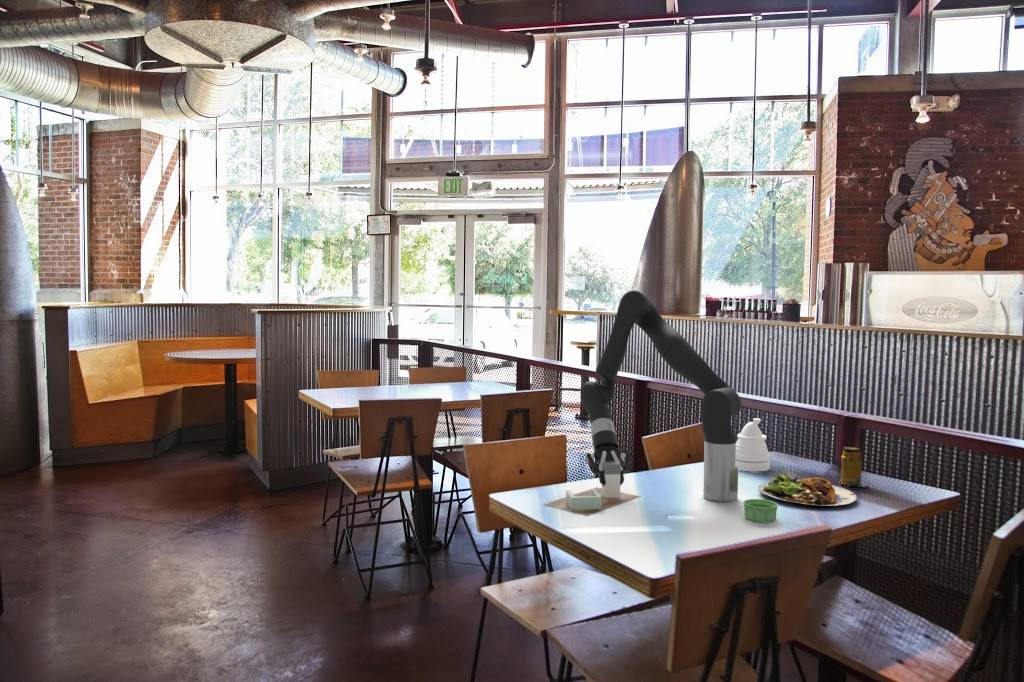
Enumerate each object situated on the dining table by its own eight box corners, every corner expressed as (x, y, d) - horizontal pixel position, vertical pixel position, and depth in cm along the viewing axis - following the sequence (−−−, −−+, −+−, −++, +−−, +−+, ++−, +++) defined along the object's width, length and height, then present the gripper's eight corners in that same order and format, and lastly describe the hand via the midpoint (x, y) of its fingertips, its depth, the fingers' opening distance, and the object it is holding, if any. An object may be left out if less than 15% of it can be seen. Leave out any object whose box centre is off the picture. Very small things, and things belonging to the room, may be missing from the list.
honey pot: (775, 468, 266) (776, 418, 265) (760, 474, 256) (761, 422, 255) (741, 462, 274) (742, 414, 273) (725, 468, 265) (726, 418, 264)
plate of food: (739, 490, 235) (739, 471, 235) (809, 482, 245) (810, 464, 244) (801, 517, 209) (802, 496, 208) (877, 507, 218) (878, 487, 218)
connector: (601, 494, 224) (602, 461, 224) (616, 493, 225) (616, 461, 224) (605, 498, 220) (605, 464, 219) (620, 497, 220) (620, 464, 220)
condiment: (840, 481, 247) (841, 445, 247) (868, 484, 243) (869, 447, 243) (838, 485, 241) (839, 449, 240) (867, 489, 237) (868, 451, 236)
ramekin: (775, 515, 208) (775, 499, 207) (779, 524, 199) (779, 508, 199) (741, 513, 210) (742, 497, 209) (744, 522, 201) (744, 506, 201)
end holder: (566, 502, 215) (566, 490, 215) (595, 501, 216) (595, 489, 216) (571, 509, 207) (571, 497, 207) (601, 509, 208) (601, 496, 208)
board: (640, 500, 222) (640, 496, 222) (587, 520, 202) (587, 515, 202) (596, 491, 232) (596, 487, 232) (542, 508, 212) (542, 504, 212)
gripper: (583, 429, 228) (590, 477, 217) (628, 428, 229) (638, 476, 218) (579, 443, 234) (587, 491, 222) (624, 442, 235) (633, 490, 224)
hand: (612, 483), depth 220 cm, fingers closed on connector, 4 cm apart
